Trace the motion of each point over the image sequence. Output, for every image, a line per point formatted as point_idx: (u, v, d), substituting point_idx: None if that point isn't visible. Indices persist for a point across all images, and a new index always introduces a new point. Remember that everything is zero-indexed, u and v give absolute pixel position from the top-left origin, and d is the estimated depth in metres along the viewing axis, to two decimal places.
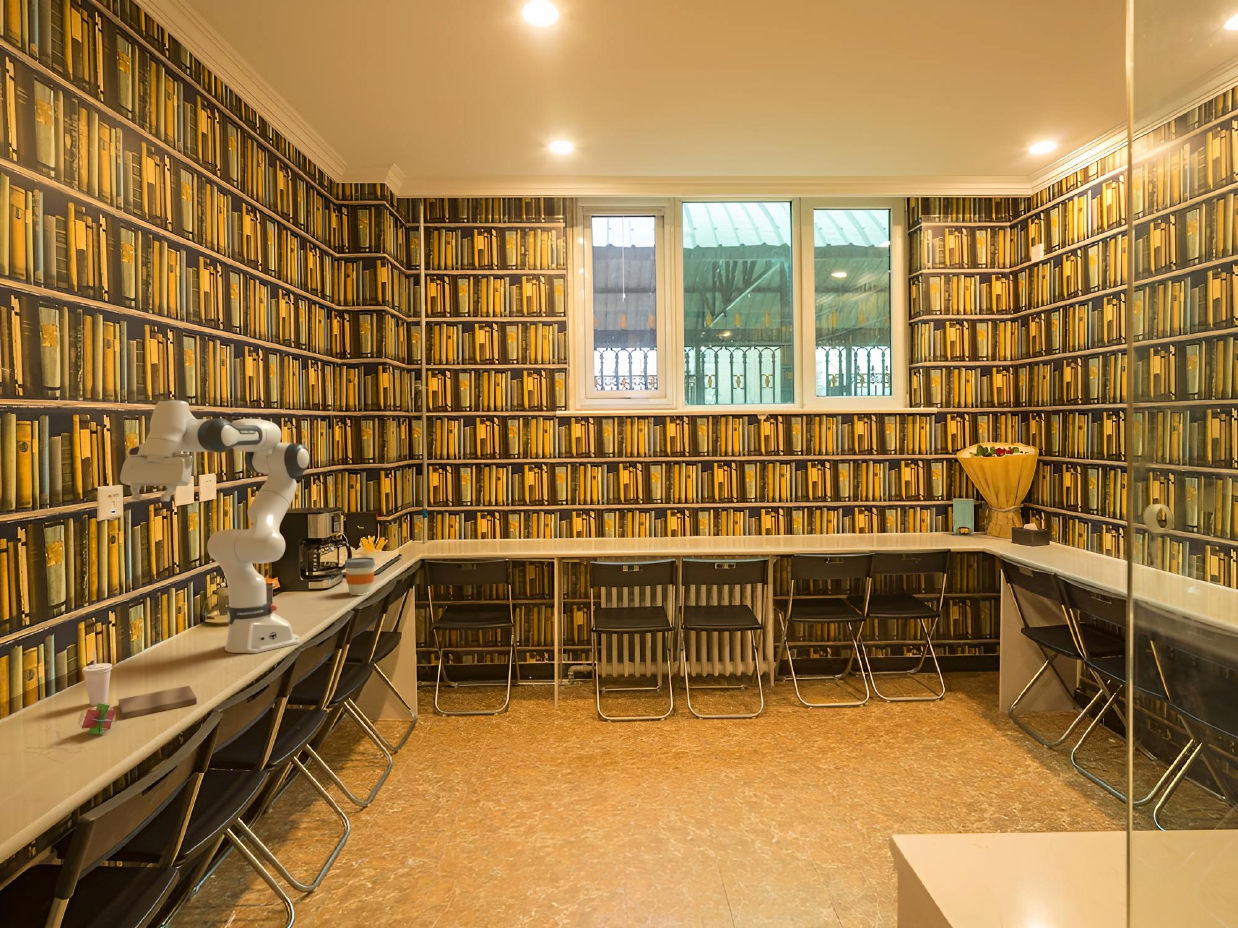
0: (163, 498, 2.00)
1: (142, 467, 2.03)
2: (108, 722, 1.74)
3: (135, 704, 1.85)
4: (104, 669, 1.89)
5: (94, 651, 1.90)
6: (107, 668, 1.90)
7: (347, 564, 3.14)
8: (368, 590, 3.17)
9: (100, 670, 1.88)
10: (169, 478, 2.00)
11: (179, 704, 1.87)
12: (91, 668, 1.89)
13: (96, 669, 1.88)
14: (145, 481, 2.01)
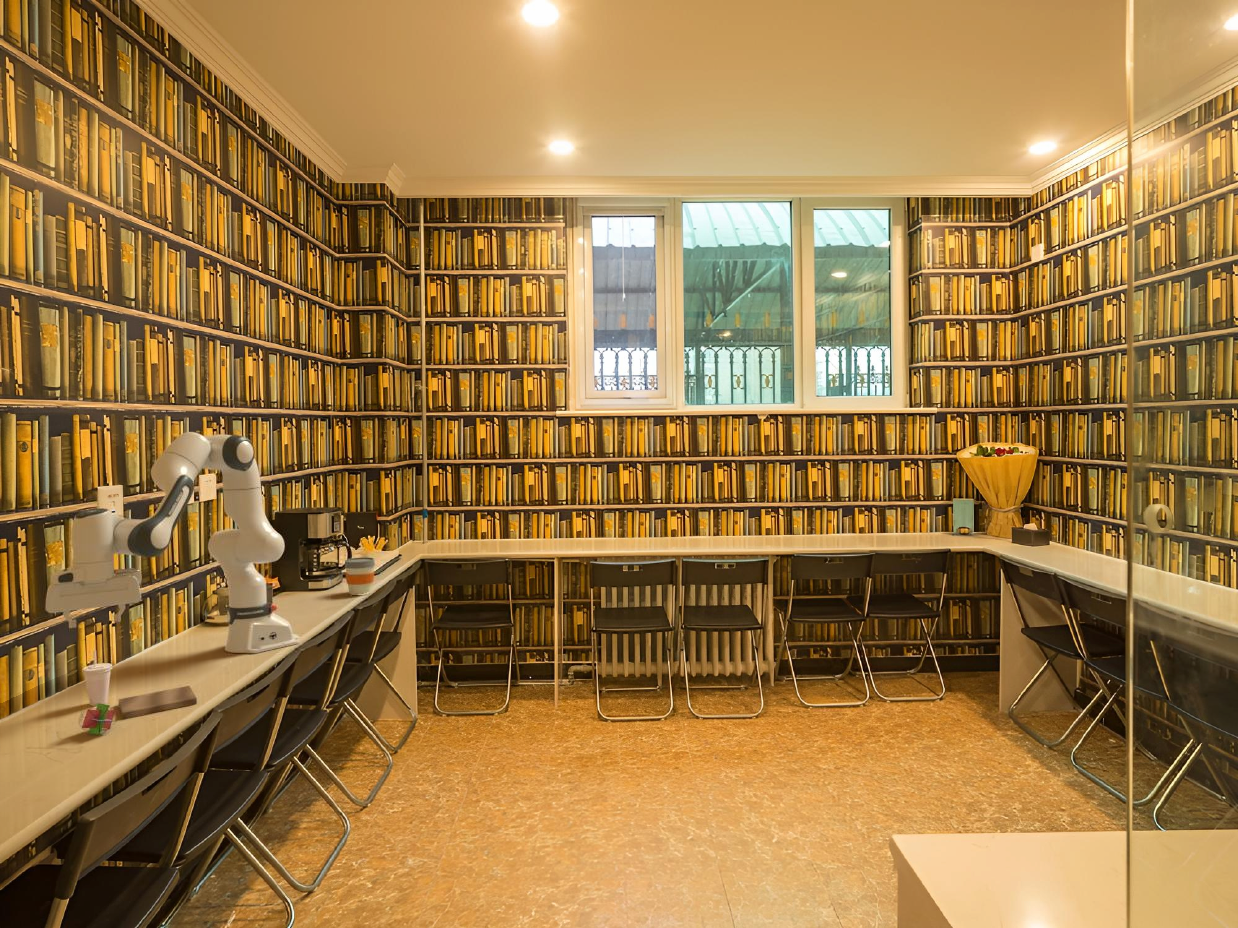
0: (118, 620, 1.92)
1: (78, 592, 1.86)
2: (108, 722, 1.74)
3: (135, 704, 1.85)
4: (104, 669, 1.89)
5: (94, 651, 1.90)
6: (107, 668, 1.90)
7: (347, 564, 3.14)
8: (368, 590, 3.17)
9: (100, 670, 1.88)
10: (124, 599, 1.92)
11: (179, 704, 1.87)
12: (91, 668, 1.89)
13: (96, 669, 1.88)
14: (89, 607, 1.87)
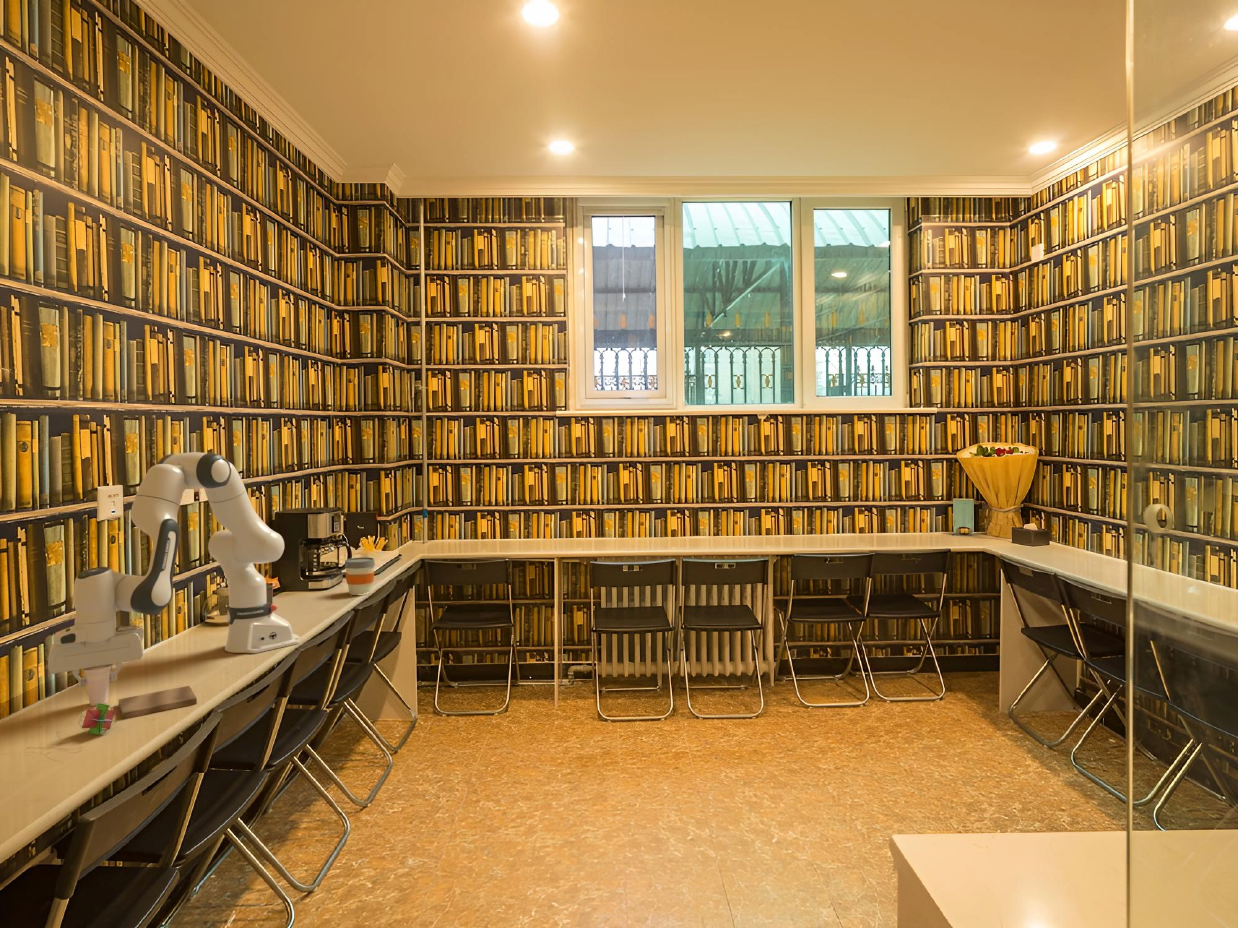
0: (115, 678, 1.92)
1: (80, 652, 1.87)
2: (108, 722, 1.74)
3: (135, 704, 1.85)
4: (104, 669, 1.89)
5: None
6: (107, 668, 1.90)
7: (347, 564, 3.14)
8: (368, 590, 3.17)
9: (100, 670, 1.88)
10: (126, 656, 1.93)
11: (179, 704, 1.87)
12: (91, 668, 1.89)
13: (96, 669, 1.88)
14: (91, 666, 1.88)
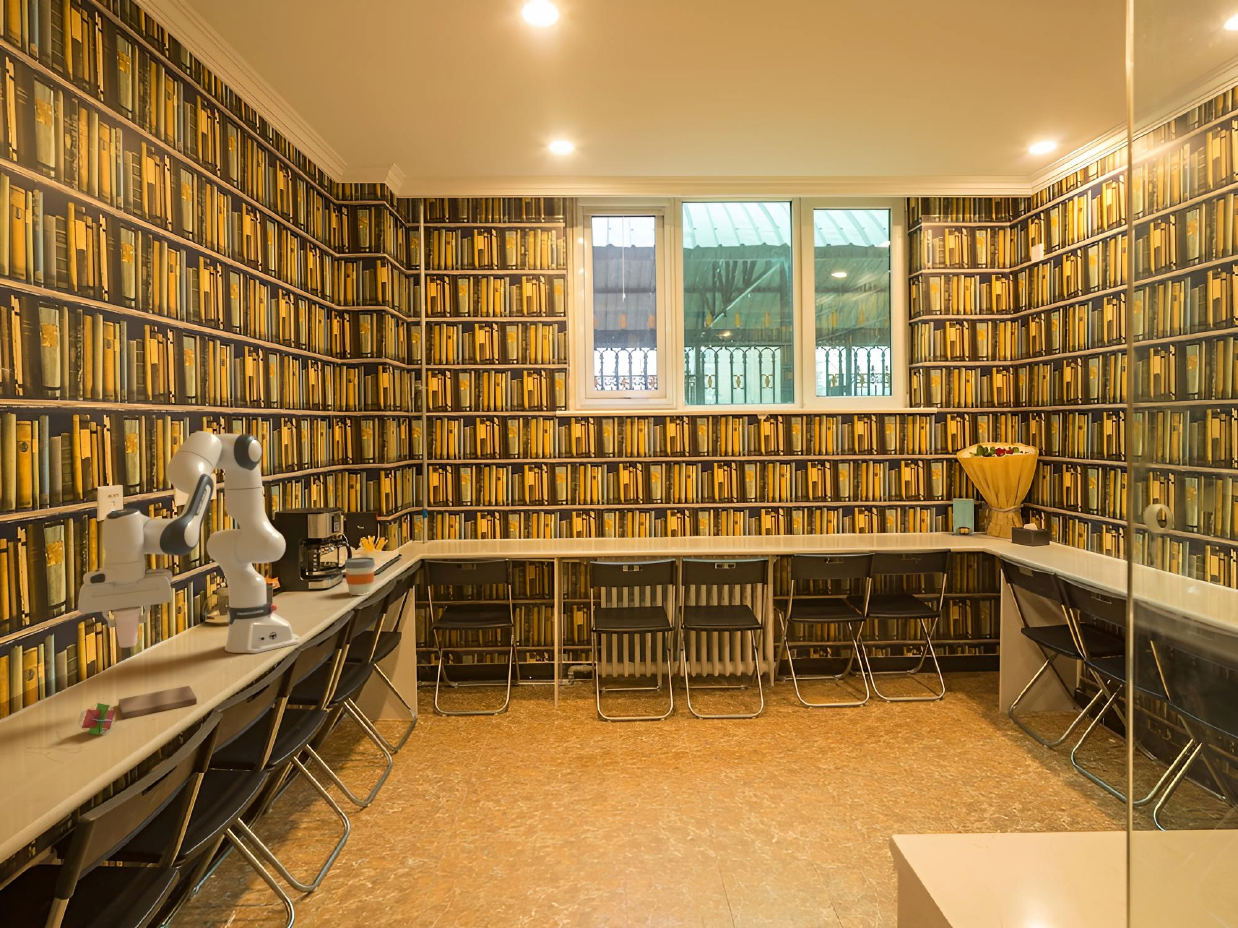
0: (144, 621, 1.91)
1: (110, 593, 1.85)
2: (108, 722, 1.74)
3: (135, 704, 1.85)
4: (133, 611, 1.88)
5: None
6: (136, 610, 1.88)
7: (347, 564, 3.14)
8: (368, 590, 3.17)
9: (129, 611, 1.87)
10: (155, 599, 1.91)
11: (179, 704, 1.87)
12: (120, 610, 1.87)
13: (125, 610, 1.87)
14: (121, 607, 1.87)
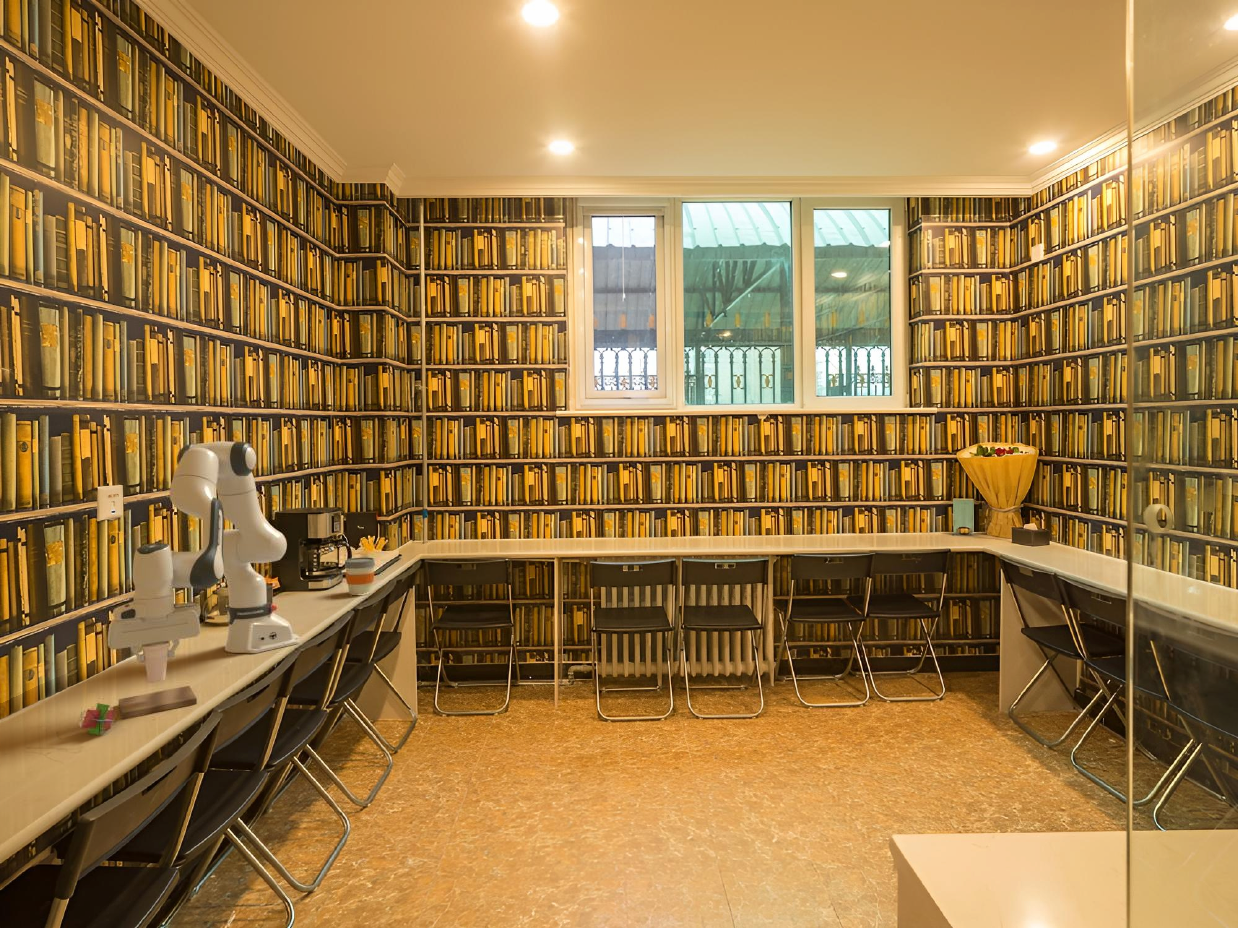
0: (172, 655, 1.90)
1: (139, 628, 1.85)
2: (108, 722, 1.74)
3: (135, 704, 1.85)
4: (163, 646, 1.87)
5: None
6: (165, 645, 1.88)
7: (347, 564, 3.14)
8: (368, 590, 3.17)
9: (159, 646, 1.87)
10: (184, 633, 1.91)
11: (179, 704, 1.87)
12: (150, 645, 1.87)
13: (155, 645, 1.87)
14: (150, 642, 1.86)
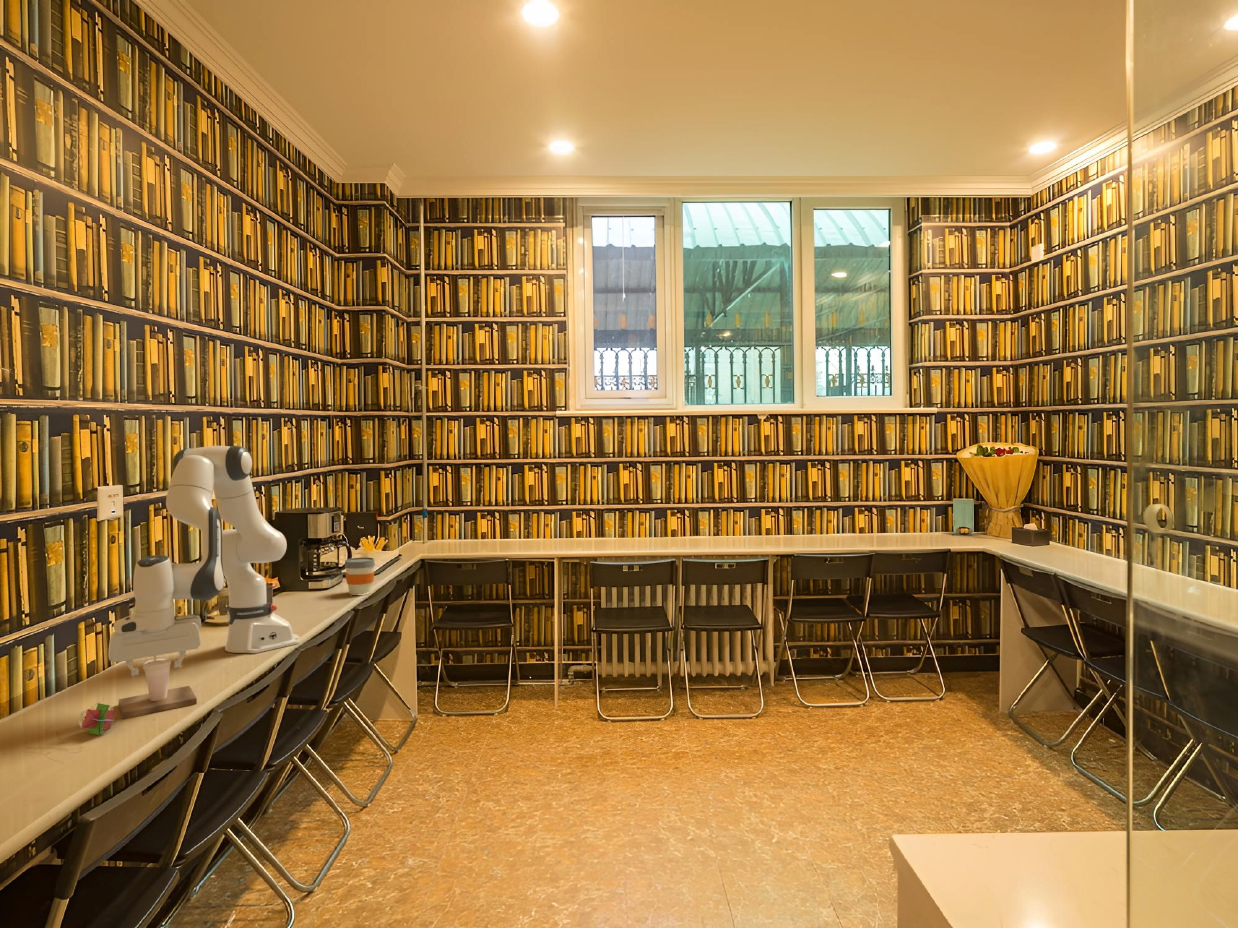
0: (179, 666, 1.91)
1: (140, 641, 1.85)
2: (108, 722, 1.74)
3: (135, 704, 1.85)
4: (164, 664, 1.88)
5: None
6: (167, 663, 1.89)
7: (347, 564, 3.14)
8: (368, 590, 3.17)
9: (160, 665, 1.87)
10: (185, 645, 1.91)
11: (179, 704, 1.87)
12: (151, 663, 1.88)
13: (156, 664, 1.87)
14: (151, 655, 1.87)
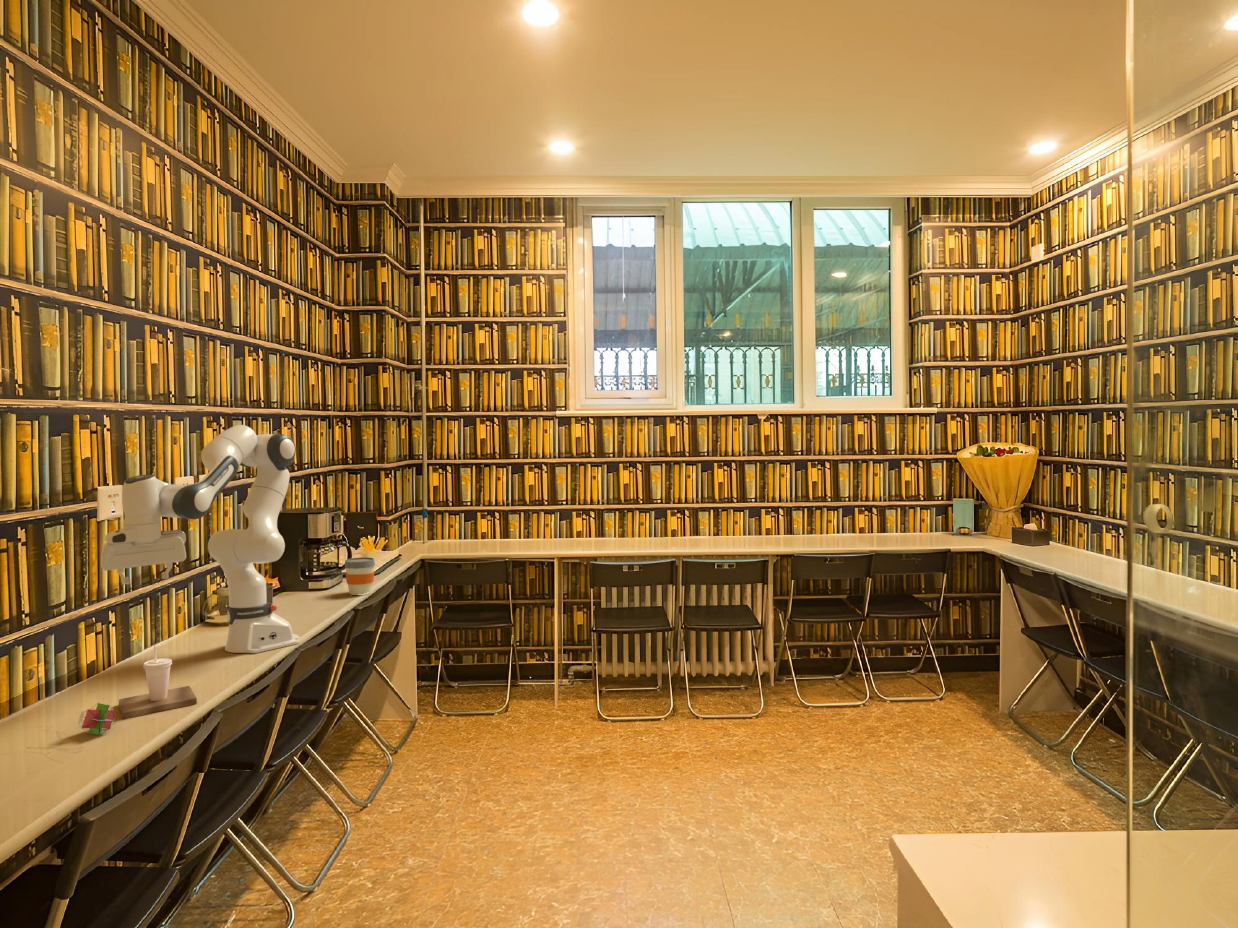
0: (166, 577, 2.08)
1: (130, 552, 2.02)
2: (108, 722, 1.74)
3: (135, 704, 1.85)
4: (165, 664, 1.88)
5: (155, 646, 1.89)
6: (168, 663, 1.89)
7: (347, 564, 3.14)
8: (368, 590, 3.17)
9: (161, 665, 1.87)
10: (171, 558, 2.08)
11: (179, 704, 1.87)
12: (152, 663, 1.88)
13: (157, 664, 1.87)
14: (140, 565, 2.03)
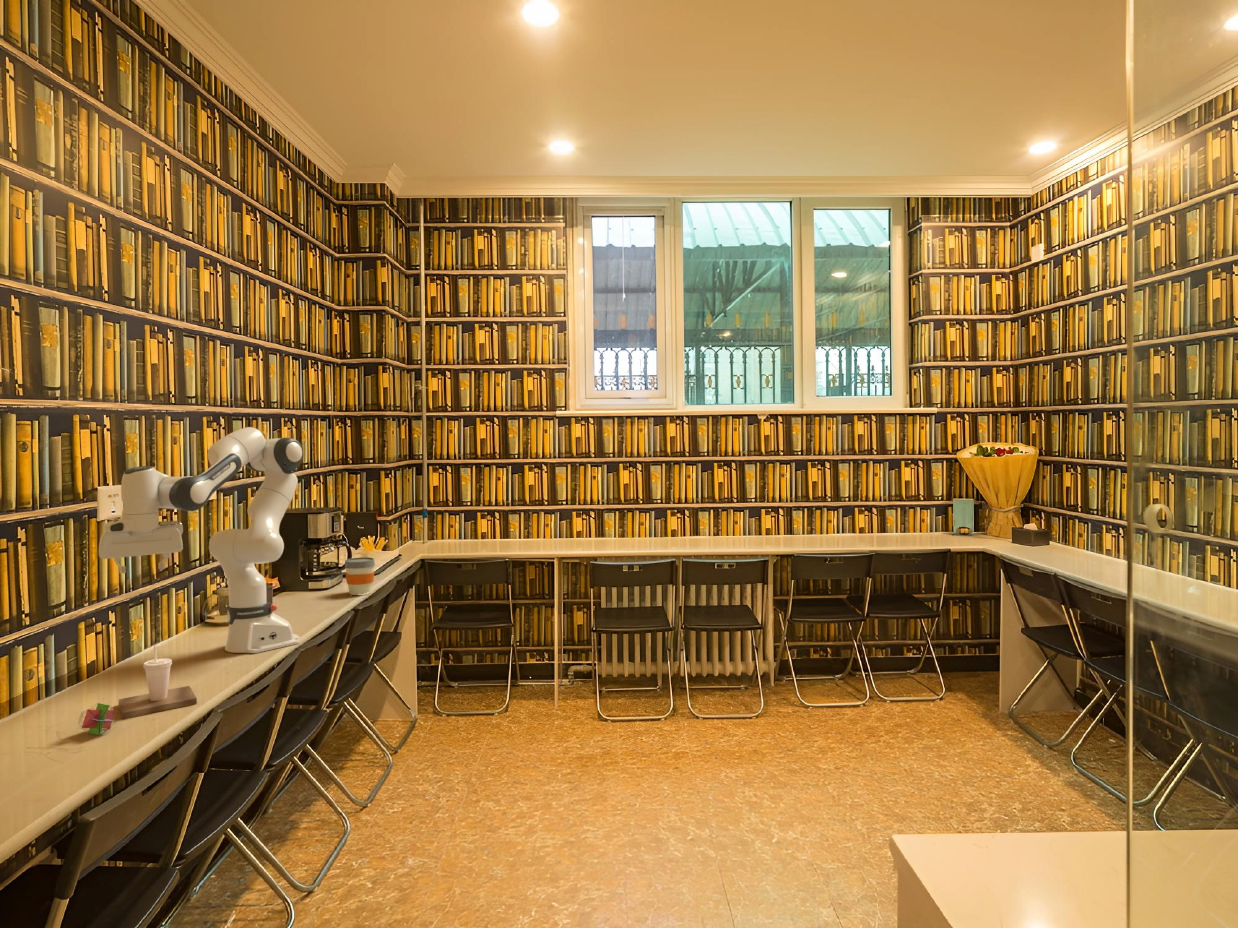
0: (163, 567, 2.11)
1: (127, 541, 2.05)
2: (108, 722, 1.74)
3: (135, 704, 1.85)
4: (165, 664, 1.88)
5: (155, 646, 1.89)
6: (168, 663, 1.89)
7: (347, 564, 3.14)
8: (368, 590, 3.17)
9: (161, 665, 1.87)
10: (168, 548, 2.11)
11: (179, 704, 1.87)
12: (152, 663, 1.88)
13: (157, 664, 1.87)
14: (137, 554, 2.07)
